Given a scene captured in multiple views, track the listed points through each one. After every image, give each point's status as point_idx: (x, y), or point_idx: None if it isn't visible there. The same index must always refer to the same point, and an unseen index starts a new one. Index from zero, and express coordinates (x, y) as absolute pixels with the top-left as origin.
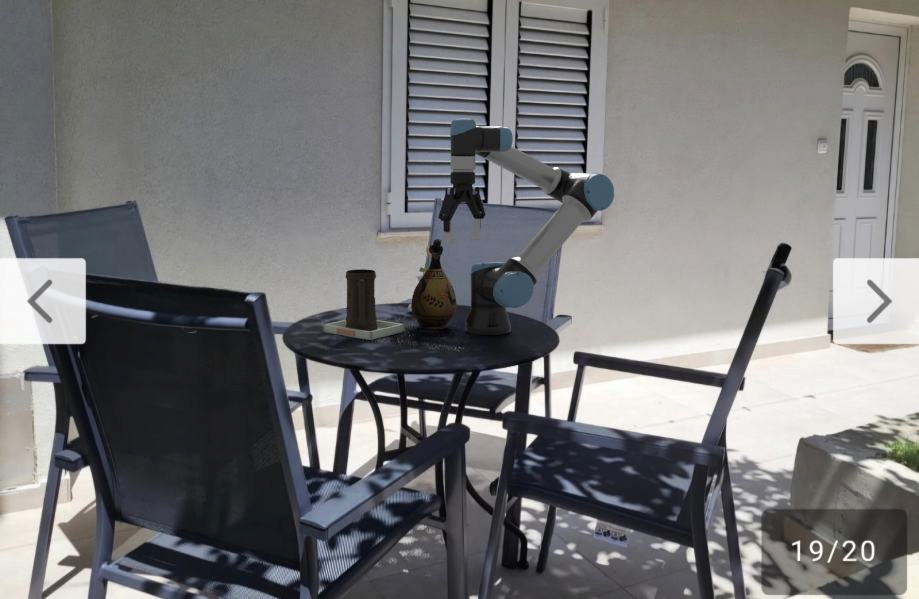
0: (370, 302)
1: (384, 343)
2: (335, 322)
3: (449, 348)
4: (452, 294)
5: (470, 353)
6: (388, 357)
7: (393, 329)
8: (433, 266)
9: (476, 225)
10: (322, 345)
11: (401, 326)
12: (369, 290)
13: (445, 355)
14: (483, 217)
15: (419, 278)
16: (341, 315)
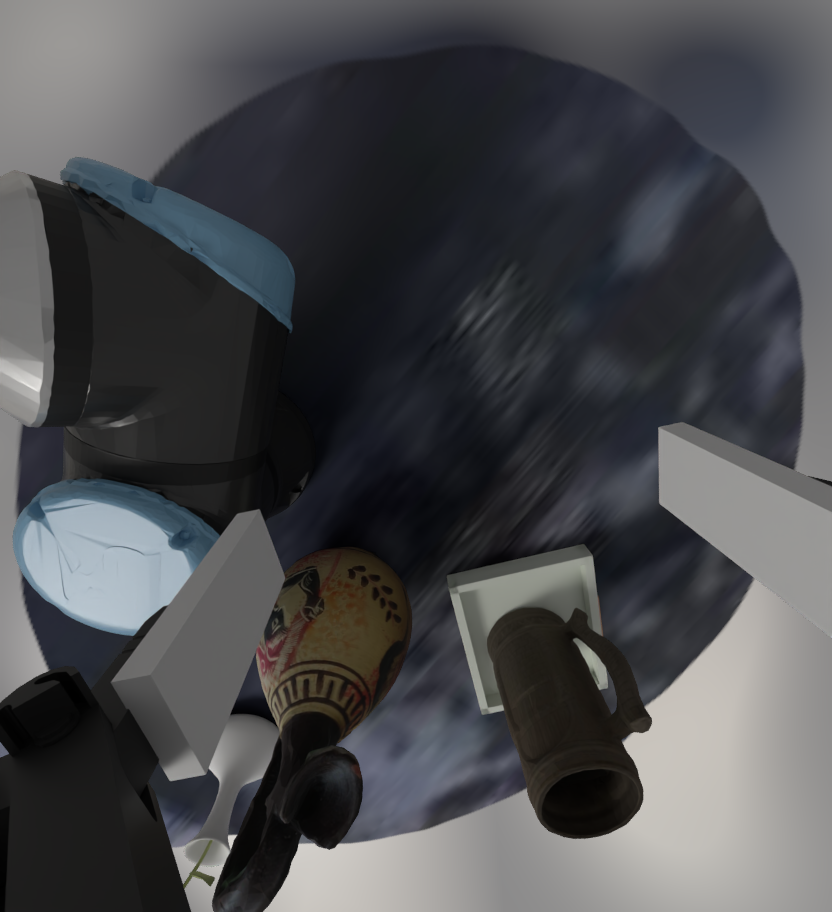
0: (555, 669)
1: (587, 490)
2: None
3: (501, 325)
4: (294, 598)
5: (503, 221)
6: (706, 342)
7: (495, 572)
8: (328, 734)
9: (212, 633)
10: (707, 558)
11: (462, 582)
12: (572, 704)
13: (578, 252)
14: (26, 689)
15: (227, 841)
16: (440, 790)
